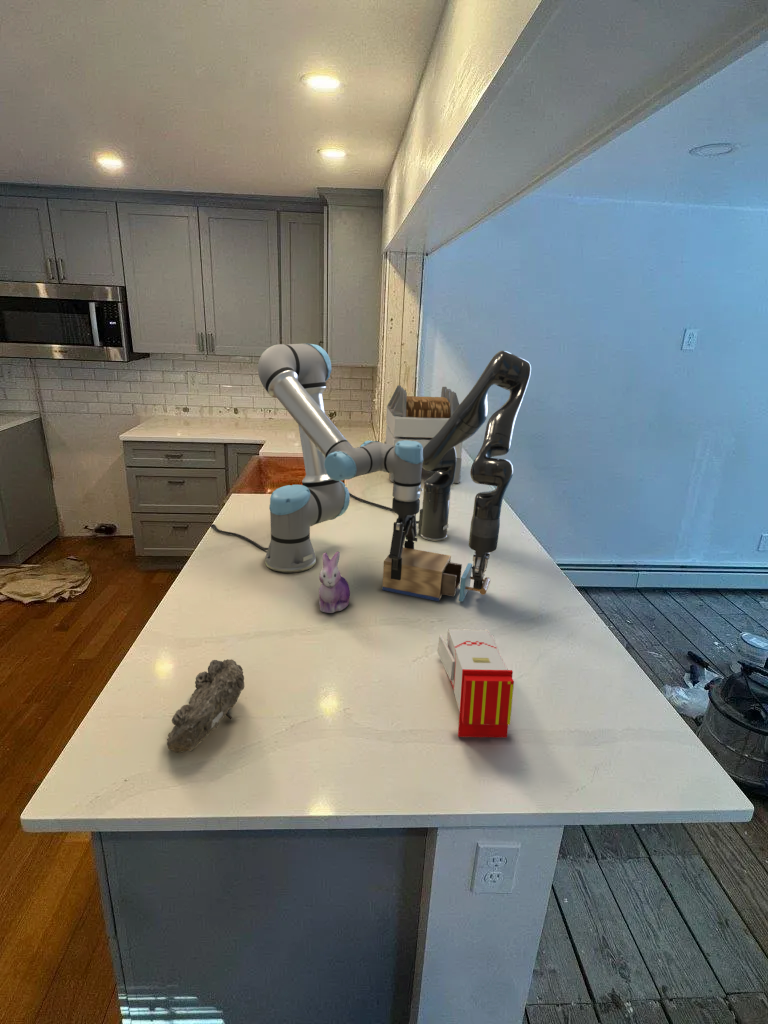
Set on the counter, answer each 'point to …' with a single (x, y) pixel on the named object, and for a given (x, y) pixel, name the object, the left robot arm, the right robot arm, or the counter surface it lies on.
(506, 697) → the toy
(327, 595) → the figurine
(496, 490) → the right robot arm
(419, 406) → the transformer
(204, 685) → the fossil
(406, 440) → the left robot arm
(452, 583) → the drawer
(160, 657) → the counter surface
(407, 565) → the cabinet
